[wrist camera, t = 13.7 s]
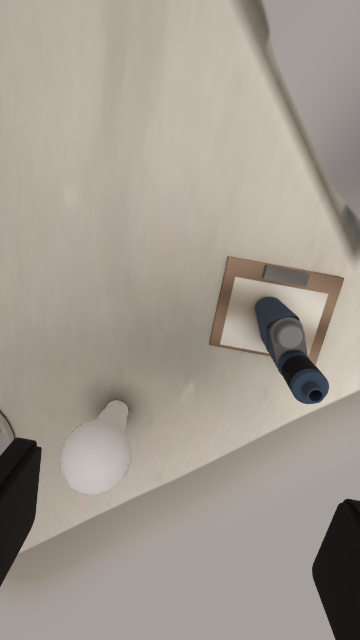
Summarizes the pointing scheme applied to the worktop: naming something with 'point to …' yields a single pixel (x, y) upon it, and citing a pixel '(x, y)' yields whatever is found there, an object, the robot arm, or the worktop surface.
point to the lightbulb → (98, 452)
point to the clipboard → (282, 283)
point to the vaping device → (290, 350)
